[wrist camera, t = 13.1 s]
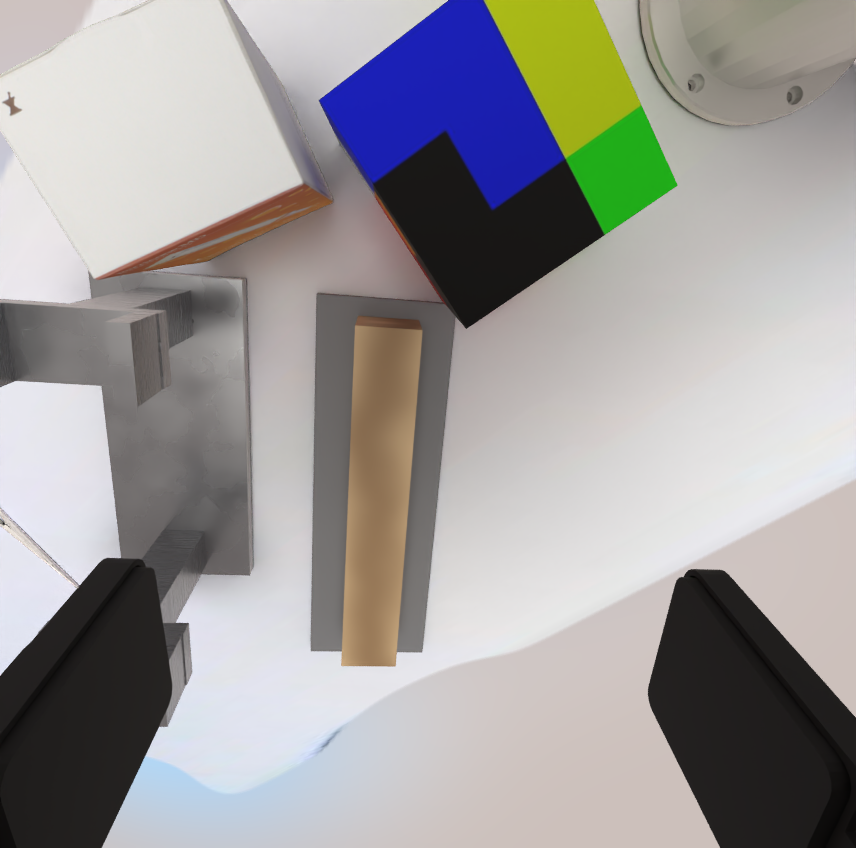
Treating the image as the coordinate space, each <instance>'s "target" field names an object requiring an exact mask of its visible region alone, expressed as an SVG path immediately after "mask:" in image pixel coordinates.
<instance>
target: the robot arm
mask: <svg viewBox="0 0 856 848" xmlns="http://www.w3.org/2000/svg"><path fill="white" fill-rule="evenodd" d="M640 15H641V25H642V34H643V38H644V41H645V45H646V49H647V52H648V56H649V59H650V61H651V63H652V65H653V67H654V69H655V71H656V73H657V76H658V78H659V80H660V81H661V82H662V84H663V85H664V86H665V88H666V89H667V90H668V91H669V93H670V94H671V95H672V97H673V98H674V99H675V100H677V101H678V102H679V103H680V104H681V105H683V106H684V107H685V108H686V109H687V110H689V111H690V112H692V113H694V114H696V115H698V116H700V117H702V118H704V119H706V120H708V121H712V122H716V123H720V124H724V125H753V124H758V123H762V122H767V121H771V120H774V119H777V118H780V117H783V116H786V115H789V114H792V113H793V112H795V111H797V110H799V109H801V108H802V107H804V106H806V105H808V104H810V103H812V102H813V101H814V100H816V99H817V98H818V97H819V96H821V95H822V94H823V93H824V92H826V91H827V90H828V89H829V88H831V87H832V86H833V85H834V84H835V83H836V82H837V81H838V79H839V78H840V77H841V76H842V75H843V74H844V73H845V72H846V71H847V70H848V69H849V68H850V66H851V65H852V63H853V62H854V61H855V59H856V0H640ZM688 83H690V85H691V90H689V88H688ZM171 696H172V678H171V672H170V665H169V659H168V652H167V646H166V639H165V633H164V626H163V620H162V613H161V607H160V600H159V594H158V587H157V581H156V575H155V571H154V569H153V568H151V567H146V566H145V563H144V562H143V560H141V559H129V558H106V559H103V560H102V561H101V562H100V563H99V564H98V565H97V566H96V567H95V569H94V570H93V571H92V572H91V573H90V574H89V575H88V577H87V578H86V579H85V580H84V581H83V582H82V584H81V585H80V586H79V587H78V588H77V589H76V591H75V592H74V593H73V594H72V595H71V596H70V598H69V599H68V600H67V601H66V602H65V603H64V604H63V606H62V607H61V608H60V609H59V610H58V611H57V613H56V614H55V615H54V616H53V617H52V618H51V620H50V621H49V622H48V623H47V624H46V625H45V627H44V628H43V629H42V630H41V631H40V632H39V633H38V635H37V636H36V637H35V638H34V639H33V640H32V642H31V643H30V644H28V645H27V646H26V647H25V648H24V649H23V650H22V651H21V652H20V654H19V655H18V656H17V657H16V658H15V659H14V661H13V662H12V663H11V664H10V665H9V666H8V668H7V669H6V670H5V671H4V672H3V673H2V674H1V676H0V848H102V846H103V843H104V842H105V840H106V838H107V835H108V833H109V831H110V829H111V827H112V825H113V823H114V821H115V819H116V816H117V814H118V812H119V810H120V808H121V806H122V804H123V801H124V800H125V797H126V795H127V793H128V791H129V789H130V787H131V785H132V783H133V781H134V778H135V776H136V774H137V772H138V770H139V768H140V766H141V764H142V761H143V759H144V757H145V755H146V753H147V751H148V749H149V747H150V745H151V743H152V740H153V738H154V736H155V734H156V732H157V730H158V728H159V726H160V724H161V721H162V719H163V717H164V715H165V713H166V711H167V709H168V706H169V704H170V700H171ZM648 697H649V703H650V706H651V709H652V711H653V713H654V715H655V717H656V719H657V721H658V723H659V725H660V727H661V729H662V731H663V733H664V735H665V737H666V739H667V741H668V743H669V745H670V747H671V749H672V751H673V754H674V755H675V758H676V760H677V762H678V764H679V766H680V768H681V769H682V772H683V774H684V776H685V778H686V780H687V782H688V783H689V786H690V788H691V790H692V792H693V794H694V796H695V798H696V800H697V802H698V804H699V806H700V808H701V810H702V812H703V814H704V816H705V818H706V820H707V822H708V824H709V826H710V828H711V830H712V832H713V834H714V836H715V838H716V840H717V842H718V844H719V846H720V848H856V717H855V716H854V715H853V714H852V713H851V712H850V711H849V710H848V709H847V707H846V706H845V705H844V704H843V703H842V702H841V701H840V699H839V698H838V697H837V696H836V695H835V694H834V693H833V692H832V690H831V689H830V688H829V687H828V686H827V685H826V684H825V683H824V682H823V680H822V679H821V678H820V677H819V676H818V675H817V674H816V672H815V671H814V670H813V669H812V668H811V667H810V666H809V665H808V663H807V662H806V661H805V660H804V659H803V658H802V657H801V656H800V654H799V653H798V652H797V651H796V650H795V649H794V648H793V647H792V645H790V643H789V642H788V641H787V640H786V639H785V638H784V636H783V635H782V634H781V633H780V632H779V631H778V630H777V629H776V627H775V626H774V625H773V624H772V623H771V622H770V621H769V620H768V618H767V617H766V616H765V615H764V614H763V613H762V612H761V611H760V609H758V607H757V606H756V605H755V604H754V603H753V602H752V600H750V598H749V597H748V596H747V595H746V594H745V593H744V591H743V590H742V589H741V588H740V587H739V586H738V585H737V584H736V582H735V581H734V580H733V579H732V578H731V577H730V576H729V575H728V574H727V573H726V572H725V571H722V570H700V569H691V570H688V571H687V572H686V574H685V576H684V577H681V578H679V579H678V580H677V581H676V584H675V587H674V591H673V595H672V599H671V603H670V606H669V610H668V614H667V618H666V622H665V626H664V629H663V633H662V637H661V641H660V645H659V648H658V652H657V656H656V660H655V664H654V667H653V671H652V675H651V679H650V683H649V687H648Z"/></svg>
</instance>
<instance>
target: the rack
mask: <svg viewBox="0 0 856 848" xmlns="http://www.w3.org/2000/svg"><path fill="white" fill-rule="evenodd" d="M88 272H89V270H88ZM89 280H90V289H91V298H92V299H88V300H83V301H79V302H75V303H70V304H65V303H51V302H37V301H23V300H8V299H0V387H2V386H4V385H7V384H9V383H11V382H14V381H29V382H47V383H64V384H82V385H99V386H102V394H103V402H104V411H105V420H106V429H107V437H108V446H109V455H110V463H111V472H112V481H113V490H114V498H115V507H116V516H117V524H118V533H119V542H120V551H121V558H129V559H141V560H143V562H144V563H145V566H146V567H151V568H153V569H154V571H155V575H156V581H157V587H158V594H159V600H160V607H161V613H162V620H163V626H164V633H165V639H166V646H167V652H168V659H169V665H170V672H171V678H172V696H171V700H170V704H169V706H168V709H167V711H166V713H165V715H164V717H163V719H162V721H161V724H160V726H159V727H168V724H169V722H170V720H171V718H172V715H173V713H174V711H175V708H176V706H177V704H178V702H179V699H180V697H181V695H182V692H183V690H184V688H185V685H187V683H188V681H189V679H190V676H191V674H192V662H191V648H190V634H189V623H176V621H177V619H178V617H179V615H180V613H181V611H182V609H183V607H184V606H185V604H186V602H187V600H188V598H189V596H190V594H191V592H192V591H193V589H194V587H195V585H196V583H197V581H198V579H199V577H200V575H201V574H216V575H250V574H251V571H252V569H253V535H252V493H251V452H250V410H249V369H248V327H247V286H246V279H244V278H231V277H218V276H205V275H192V274H179V273H167V272H154V271H144V272H138V273H132V274H126V275H120V276H115V277H110V278H105V279H100V280H96V279H94V278H93V277H92V275H91V274H90V272H89ZM48 622H49V621H48ZM48 622H47V623H48ZM47 623H46V624H47ZM46 624H45V625H46ZM45 625H44V627H45ZM44 627H43V628H44ZM43 628H42V629H43ZM42 629H41V630H42ZM41 630H40V631H41ZM40 631H39V632H40ZM39 632H38V633H39Z"/></svg>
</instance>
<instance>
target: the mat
mask: <svg viewBox="0 0 856 848" xmlns="http://www.w3.org/2000/svg"><path fill="white" fill-rule="evenodd" d="M358 316H370V317H384V318H398V319H411V320H419V322H420V325H421V328H422V330H423V331H422V344H421V356H420V368H419V381H418V393H417V406H416V418H415V430H414V443H413V455H412V468H411V480H410V492H409V505H408V517H407V530H406V542H405V554H404V567H403V579H402V592H401V604H400V616H399V629H398V641H397V652H422V649H423V639H424V629H425V618H426V608H427V598H428V588H429V578H430V568H431V558H432V547H433V537H434V527H435V517H436V507H437V497H438V487H439V476H440V466H441V456H442V446H443V436H444V426H445V416H446V406H447V395H448V385H449V375H450V365H451V355H452V345H453V335H454V324H455V315H454V314H453V313H452V312H451V311H450V309H449V308H448V307H447V306H446V305H445V304H444V303H441V302H428V301H415V300H401V299H388V298H375V297H362V296H349V295H336V294H322V293H317V303H316V363H315V423H314V484H313V544H312V604H311V651H342V638H343V613H344V588H345V564H346V539H347V514H348V489H349V465H350V440H351V415H352V390H353V366H354V341H355V324H356V321H357V318H358Z"/></svg>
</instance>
